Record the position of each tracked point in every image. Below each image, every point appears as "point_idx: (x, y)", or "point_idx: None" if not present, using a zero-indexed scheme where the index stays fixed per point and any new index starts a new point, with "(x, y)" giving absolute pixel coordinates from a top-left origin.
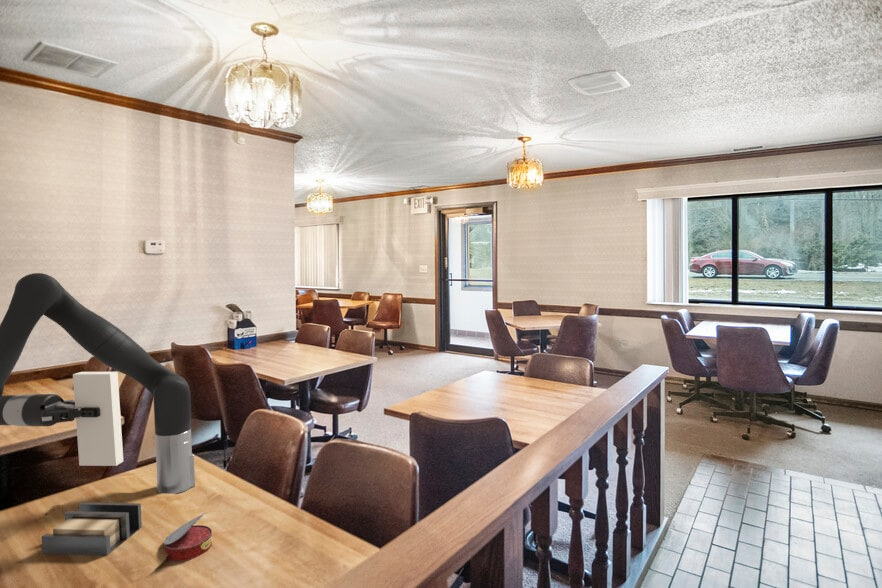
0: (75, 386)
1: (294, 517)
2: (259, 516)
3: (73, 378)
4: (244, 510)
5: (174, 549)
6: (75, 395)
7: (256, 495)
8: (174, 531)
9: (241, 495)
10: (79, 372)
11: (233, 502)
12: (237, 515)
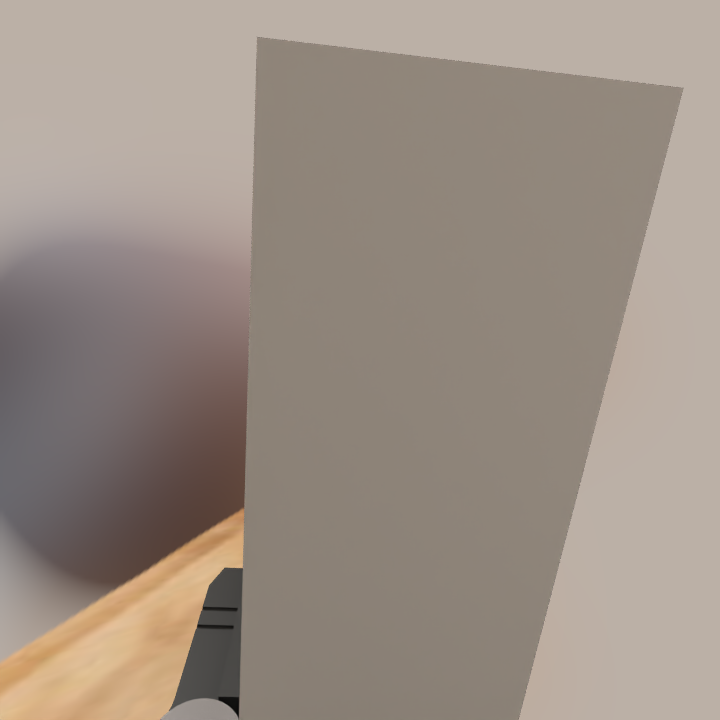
0: (550, 476)
1: (214, 546)
2: (192, 609)
3: (629, 255)
4: (142, 655)
5: None
6: (507, 686)
7: (39, 658)
8: None
9: (12, 705)
10: (377, 57)
11: (64, 710)
12: (171, 663)
